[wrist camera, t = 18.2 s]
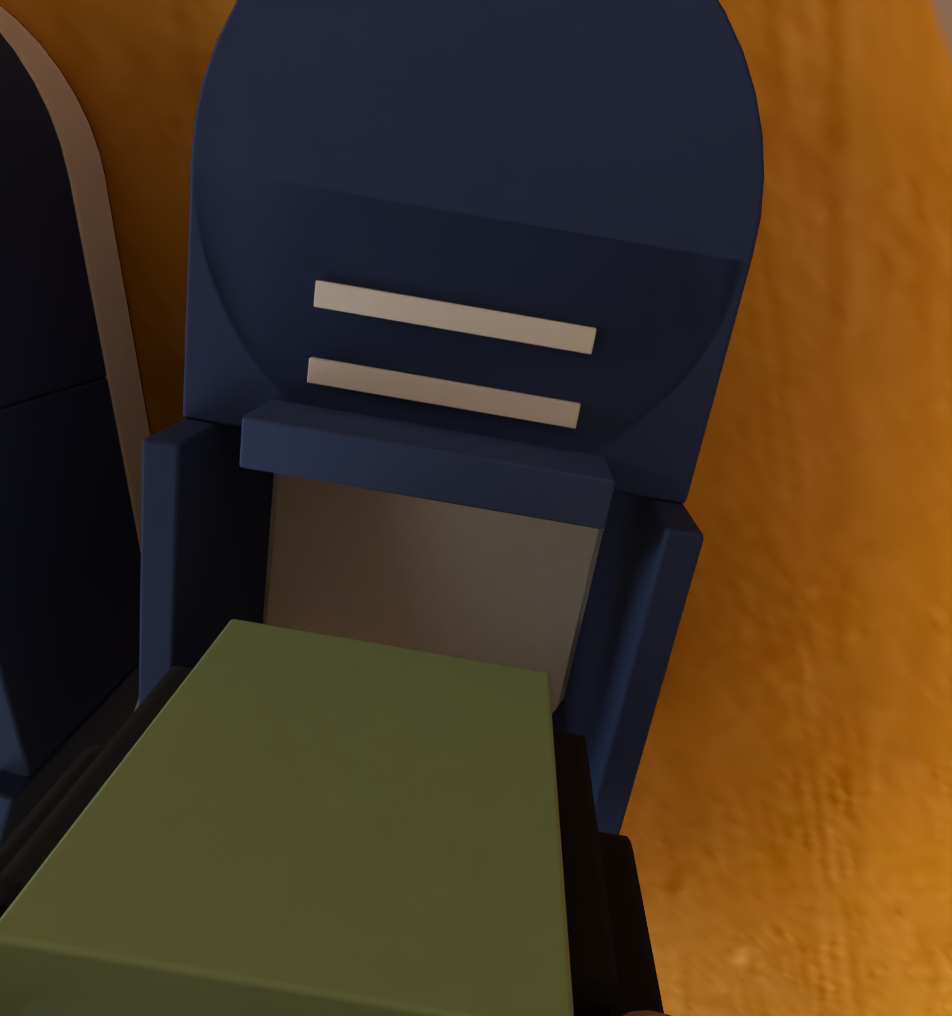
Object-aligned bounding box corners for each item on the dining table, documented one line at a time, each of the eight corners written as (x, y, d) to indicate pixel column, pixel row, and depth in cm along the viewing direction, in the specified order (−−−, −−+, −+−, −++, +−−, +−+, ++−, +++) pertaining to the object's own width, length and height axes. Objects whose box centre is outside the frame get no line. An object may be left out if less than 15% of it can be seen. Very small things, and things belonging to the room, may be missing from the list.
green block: (230, 616, 11) (-18, 936, 6) (549, 670, 11) (578, 1037, 6) (216, 864, 12) (11, 1285, 7) (494, 912, 12) (480, 1365, 7)
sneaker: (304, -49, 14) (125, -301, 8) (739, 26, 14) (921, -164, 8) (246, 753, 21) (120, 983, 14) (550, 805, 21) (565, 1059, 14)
